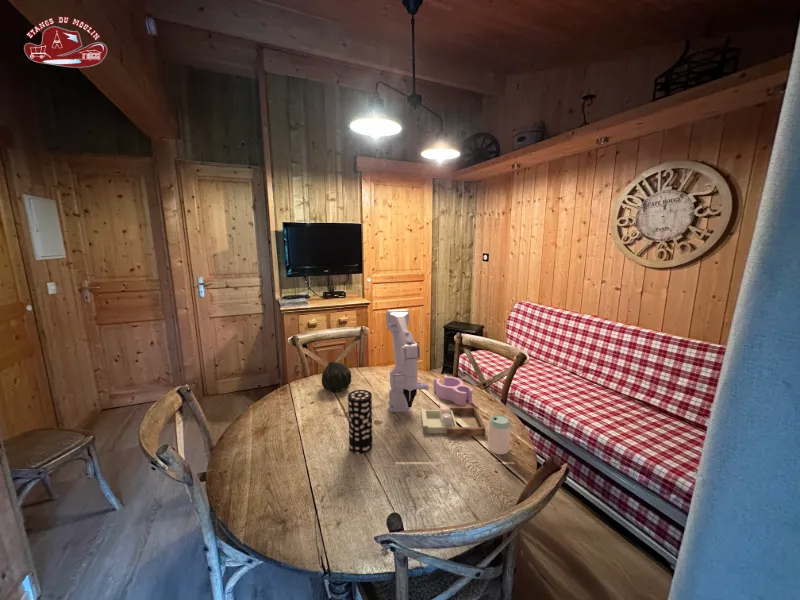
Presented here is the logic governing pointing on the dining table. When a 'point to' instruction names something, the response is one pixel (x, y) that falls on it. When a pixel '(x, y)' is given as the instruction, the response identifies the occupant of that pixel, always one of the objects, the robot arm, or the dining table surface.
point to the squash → (336, 377)
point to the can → (499, 434)
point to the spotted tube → (360, 421)
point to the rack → (467, 430)
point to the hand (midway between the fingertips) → (409, 406)
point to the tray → (434, 421)
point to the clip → (453, 390)
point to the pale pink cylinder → (444, 411)
